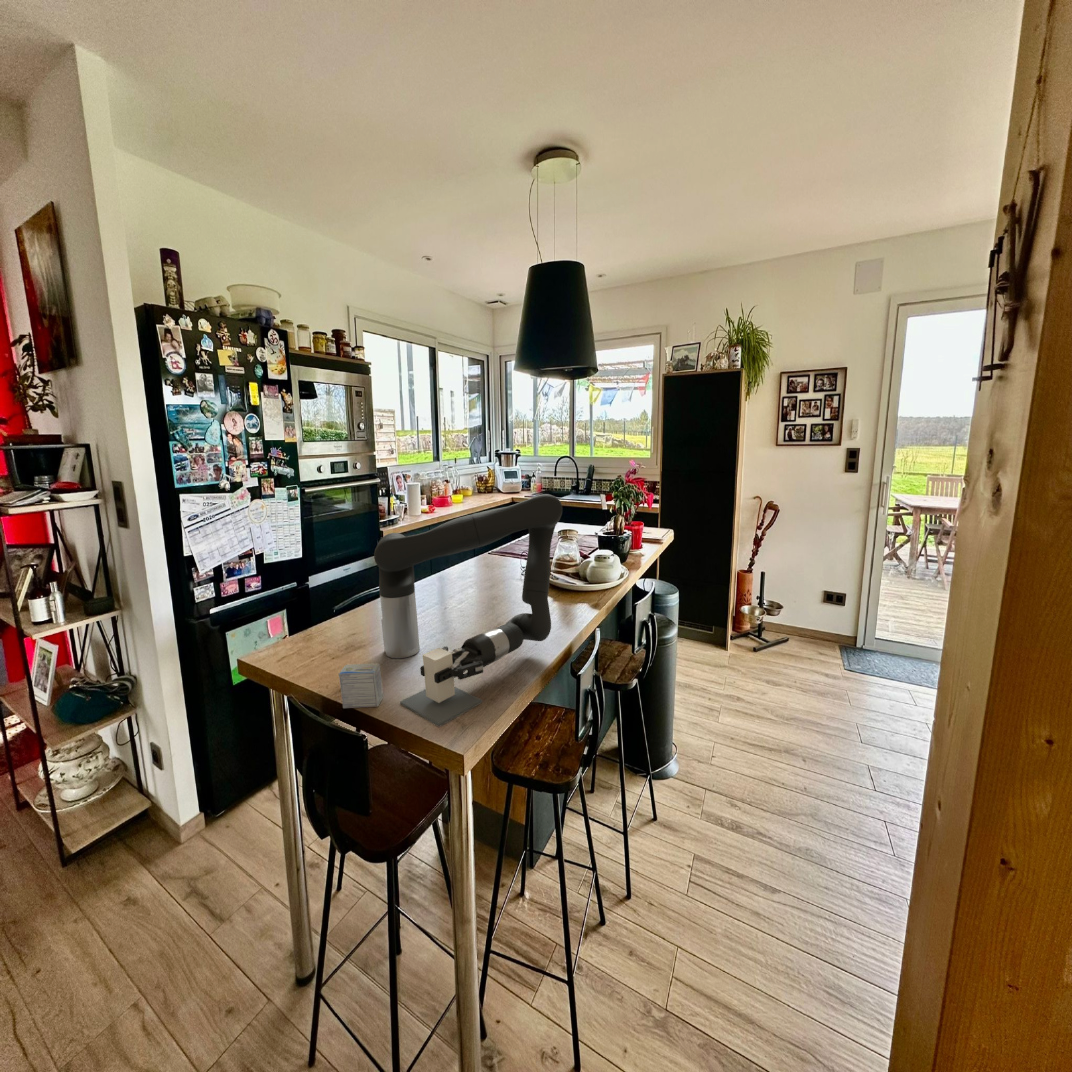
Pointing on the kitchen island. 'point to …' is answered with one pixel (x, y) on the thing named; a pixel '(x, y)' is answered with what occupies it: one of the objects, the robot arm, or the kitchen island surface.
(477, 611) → the kitchen island surface
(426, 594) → the kitchen island surface
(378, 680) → the medicine box
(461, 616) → the kitchen island surface
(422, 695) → the slate mat
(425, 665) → the cream block
